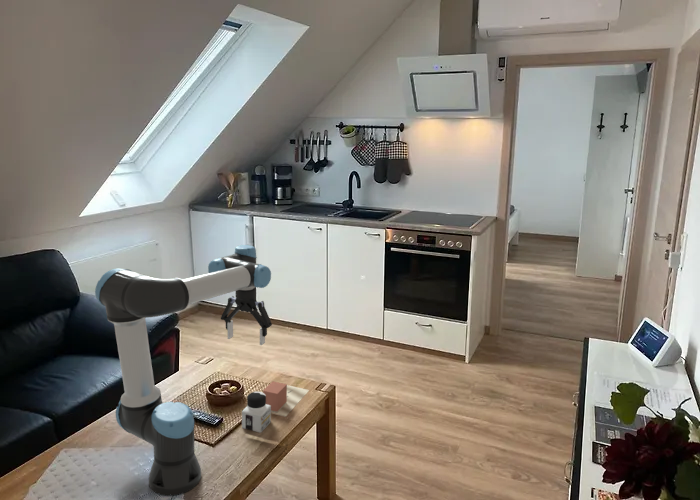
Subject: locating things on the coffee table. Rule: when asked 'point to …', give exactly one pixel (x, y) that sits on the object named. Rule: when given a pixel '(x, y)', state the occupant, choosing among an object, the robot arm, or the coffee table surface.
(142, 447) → the coffee table surface
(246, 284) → the robot arm
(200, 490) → the coffee table surface
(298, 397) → the board
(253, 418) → the container
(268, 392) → the block
